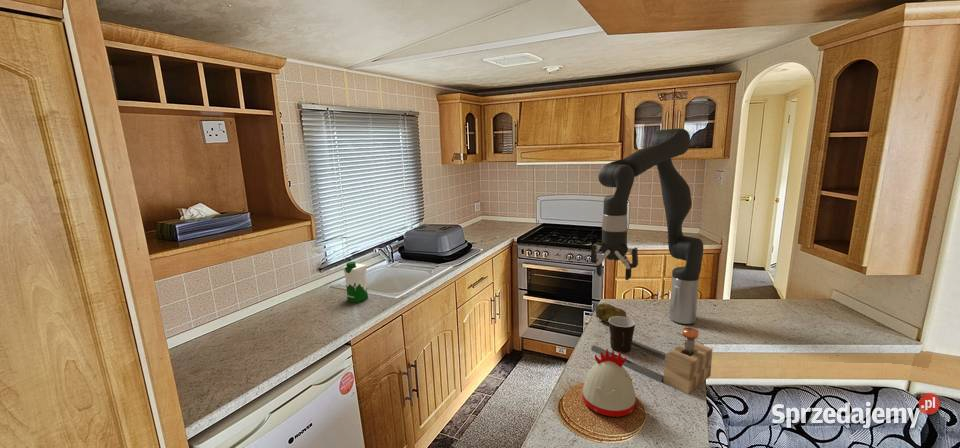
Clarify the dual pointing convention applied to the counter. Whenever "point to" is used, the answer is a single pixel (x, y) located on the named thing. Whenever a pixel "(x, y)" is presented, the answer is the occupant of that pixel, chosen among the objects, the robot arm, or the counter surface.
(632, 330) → the coffee mug
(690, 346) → the button
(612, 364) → the kitchen timer
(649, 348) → the guide rails
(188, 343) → the counter surface
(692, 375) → the hollow wooden block stack
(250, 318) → the counter surface
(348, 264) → the milk carton
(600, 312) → the potato
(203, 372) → the counter surface
